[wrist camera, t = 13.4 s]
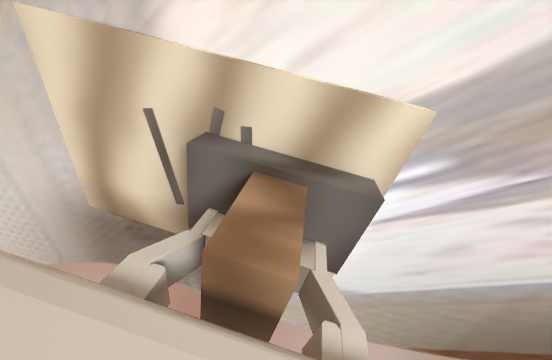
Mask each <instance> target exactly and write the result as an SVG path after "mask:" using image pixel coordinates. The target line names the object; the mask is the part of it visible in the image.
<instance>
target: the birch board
mask: <svg viewBox="0 0 552 360" xmlns="http://www.w3.org/2000/svg"><path fill="white" fill-rule="evenodd" d="M13 3H14V6H15V9H16V11H17V14H18V17H19V19H20V22H21V25H22V27H23V30H24V33H25V35H26V38H27V41H28V43H29V46H30V49H31V51H32V54H33V57H34V59H35V62H36V65H37V68H38V70H39V73H40V76H41V78H42V81H43V84H44V86H45V89H46V92H47V94H48V97H49V100H50V102H51V105H52V108H53V110H54V113H55V116H56V118H57V121H58V124H59V126H60V129H61V132H62V135H63V137H64V140H65V143H66V145H67V148H68V151H69V153H70V156H71V159H72V161H73V164H74V167H75V169H76V172H77V175H78V177H79V180H80V183H81V185H82V188H83V191H84V193H85V196H86V199H87V202H88V204H89V206H90V207H93V208H96V209H100V210H103V211H106V212H109V213H112V214H115V215H119V216H122V217H125V218H128V219H131V220H134V221H138V222H141V223H144V224H147V225H150V226H153V227H157V228H160V229H163V230H166V231H169V232H172V233H176V234H179V233H181V232H183V231H186V230H189V231H190V230H191V229H192V228H189V227H188V190H187V150H186V143H187V142H189V141H190V140H192V139H194V138H196V137H198V136H200V135H201V134H203V133H205V132H209V133H212V134H216V135H219V136H223V137H226V138H230V139H233V140H237V141H240V142H244V143H247V144H251V145H254V146H258V147H261V148H265V149H268V150H272V151H275V152H279V153H282V154H286V155H289V156H293V157H296V158H300V159H303V160H307V161H310V162H314V163H317V164H321V165H324V166H328V167H331V168H335V169H338V170H342V171H345V172H349V173H352V174H356V175H359V176H363V177H366V178H370V179H373V180H375V182H376V184H377V186H378V188H379V190H380V192H381V194H382V196H383V197H384V195H385V194H386V192H387V191H388V189H389V188H390V186H391V184H392V183H393V181H394V180H395V178H396V177H397V175H398V174H399V172H400V170H401V169H402V167H403V166H404V164H405V163H406V161H407V159H408V158H409V156H410V155H411V153H412V152H413V150H414V148H415V147H416V145H417V144H418V142H419V141H420V139H421V137H422V136H423V134H424V133H425V131H426V130H427V128H428V126H429V125H430V123H431V122H432V120H433V119H434V117H435V115H436V114H437V112H435V111H432V110H430V109H427V108H424V107H421V106H417V105H413V104H409V103H405V102H401V101H398V100H394V99H390V98H386V97H382V96H378V95H375V94H371V93H367V92H363V91H359V90H355V89H352V88H348V87H344V86H340V85H336V84H332V83H329V82H325V81H321V80H317V79H313V78H309V77H306V76H302V75H298V74H294V73H290V72H286V71H282V70H279V69H275V68H271V67H267V66H263V65H259V64H256V63H252V62H248V61H244V60H240V59H236V58H233V57H229V56H225V55H221V54H217V53H213V52H210V51H206V50H202V49H198V48H194V47H190V46H187V45H183V44H179V43H175V42H171V41H167V40H164V39H160V38H156V37H152V36H148V35H144V34H141V33H137V32H133V31H129V30H125V29H121V28H117V27H114V26H110V25H106V24H102V23H98V22H94V21H91V20H87V19H83V18H79V17H75V16H71V15H68V14H64V13H60V12H56V11H52V10H48V9H44V8H40V7H35V6H31V5H26V4H22V3H17V2H13ZM334 274H335V273H331V272H328V271H327V275H330V276H331V278H332V277H333V275H334Z"/></svg>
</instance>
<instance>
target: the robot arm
mask: <svg viewBox="0 0 552 360" xmlns="http://www.w3.org/2000/svg"><path fill="white" fill-rule="evenodd" d="M226 214H227V213H224V212H221V211H217V210H214V209H211V208H209V209H208V210H207V211H206V212H205V213H204V214H203V216H202V217H201V218H200V219H199V221H198V222H197V223H196V224H195V225H194V227H193V228H192V229H191V230H190V231H189V230H186V231H183V232H181V233H179V234H176V235H174V236H171V237H169V238H167V239H164V240H162V241H159V242H157V243H155V244H152V245H150V246H147V247H145V248H143V249H140V250H138V251H135V252H133V253H131V254H129V255H128V256H127V257H126V258H125V259H124V260H123V261H122V262H121V263H120V264H119V265H118V266H117V267H116V268H115V269H114V270H113V271H112V272H111V273H109V274H108V275H107V277H106V278H105V279H103V280H102V281H101V282H100V283H99V284H98V283H95V282H92V281H89V280H86V279H83V278H80V277H78V276H75V275H72V274H69V273H66V272H63V271H60V270H57V269H54V268H52V267H49V266H46V265H43V264H40V263H37V262H34V261H31V260H29V259H26V258H23V257H20V256H17V255H14V254H11V253H8V252H5V251H3V250H0V360H370V356H369V350H368V344H367V338H366V333H365V331H364V330H363V328H362V326H361V325H360V323H359V321H358V320H357V318H356V317H355V315H354V313H353V312H352V310H351V308H350V307H349V305H348V304H347V302H346V300H345V299H344V297H343V295H342V294H341V292H340V291H339V289H338V287H337V286H336V284H335V282H334V281H333V279H332V278H331V276H330V275H327V257H326V245H325V244H324V243H320V242H317V241H314V240H310V239H307V238H304V237H303V240H302V250H301V261H300V271H299V281H298V283H297V285H296V287H295V289H294V292H297V293H299V297H300V300H301V302H302V305H303V308H304V311H305V313H306V316H307V319H308V322H309V325H310V327H311V330H312V333H313V336H312V337H311V338H310V339H309V341H308V342H307V344H306V345H305V346H304V347H303V349H302V354H300V353H297V352H294V351H291V350H288V349H286V348H283V347H280V346H277V345H274V344H271V343H268V342H265V341H262V340H260V339H257V338H254V337H251V336H248V335H245V334H242V333H239V332H237V331H234V330H231V329H228V328H225V327H222V326H219V325H216V324H213V323H211V322H208V321H205V320H202V319H199V318H196V317H193V316H190V315H188V314H185V313H181V312H179V311H176V310H173V309H170V308H167V307H168V305H169V304H170V301H169V293H168V287H170V286H171V285H172V284H174V283H175V282H177V281H178V280H180V279H181V278H183V277H184V276H186V275H187V274H189V273H190V272H191V271H193V270H194V269H196V268H197V267H199V266H200V265H202V253H203V249H204V248H205V246H206V245H207V243H208V241H209V240H210V238H211V237H212V235H213V234H214V232H215V231H216V229H217V227H218V226H219V224H220V223H221V221H222V220H223V218H224V217H225V215H226Z"/></svg>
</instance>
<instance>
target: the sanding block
mask: <svg viewBox="0 0 552 360" xmlns="http://www.w3.org/2000/svg"><path fill="white" fill-rule="evenodd" d="M186 150H187V190H188V227H189V228H193V227H194V225H195V224H196V223H197V222H198V221H199V219H200V218H201V217H202V216H203V214H204V213H205V212H206V211H207V210H208V209H209V208H211V209H214V210H217V211H221V212H224V213H227V214H226V215H225V217H224V218H223V220H222V221H221V223H220V224H219V226H218V227H217V229H216V231H215V232H214V234H213V235H212V237H211V238H210V240H209V241H208V243H207V245H206V246H205V248H204V249H203V253H202V285H201V317H200V319H202V320H205V321H208V322H211V323H213V324H216V325H219V326H222V327H225V328H228V329H231V330H234V331H237V332H239V333H242V334H245V335H248V336H251V337H254V338H257V339H260V340H262V341H265V342H269V340H270V338H271V336H272V334H273V332H274V330H275V328H276V326H277V324H278V322H279V320H280V318H281V316H282V314H283V312H284V310H285V308H286V306H287V304H288V302H289V300H290V298H291V296H292V294H293V292H294V289H295V287H296V285H297V283H298V281H299V271H300V261H301V250H302V240H303V237H304V238H307V239H310V240H314V241H317V242H320V243H324V244H325V245H326V257H327V271H328V272H331V273H335V274H337V273H338V271H339V270H340V268H341V267H342V265H343V264H344V262H345V261H346V259H347V258H348V256H349V254H350V253H351V251H352V250H353V248H354V247H355V245H356V244H357V242H358V241H359V239H360V238H361V236H362V234H363V233H364V231H365V230H366V228H367V227H368V225H369V224H370V222H371V221H372V219H373V218H374V216H375V214H376V213H377V211H378V210H379V208H380V207H381V205H382V204H383V202H384V201H385V200H384V198H383V196H382V194H381V192H380V190H379V188H378V186H377V184H376V182H375V180H373V179H370V178H366V177H363V176H359V175H356V174H352V173H349V172H345V171H342V170H338V169H335V168H331V167H328V166H324V165H321V164H317V163H314V162H310V161H307V160H303V159H300V158H296V157H293V156H289V155H286V154H282V153H279V152H275V151H272V150H268V149H265V148H261V147H258V146H254V145H251V144H247V143H244V142H240V141H237V140H233V139H230V138H226V137H223V136H219V135H216V134H212V133H209V132H205V133H203V134H201V135H200V136H198V137H196V138H194V139H192V140H190V141H189V142H187V143H186Z"/></svg>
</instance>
